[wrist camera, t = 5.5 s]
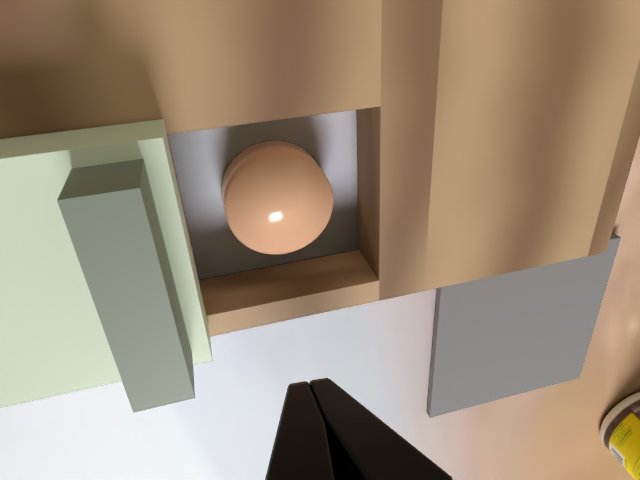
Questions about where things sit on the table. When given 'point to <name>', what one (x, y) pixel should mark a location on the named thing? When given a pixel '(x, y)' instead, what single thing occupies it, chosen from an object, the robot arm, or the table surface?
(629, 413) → the supplement bottle
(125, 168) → the cover
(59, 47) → the puzzle board
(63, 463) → the table surface
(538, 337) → the mat
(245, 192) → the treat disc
